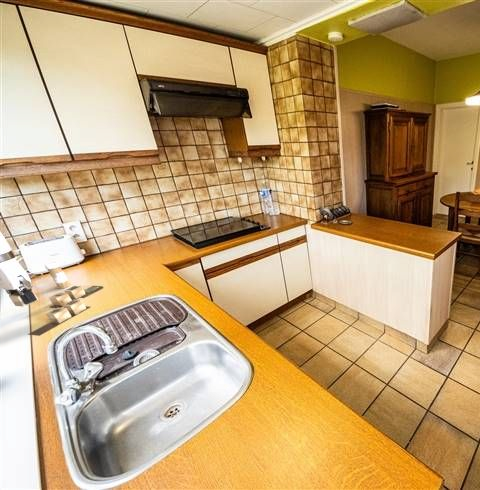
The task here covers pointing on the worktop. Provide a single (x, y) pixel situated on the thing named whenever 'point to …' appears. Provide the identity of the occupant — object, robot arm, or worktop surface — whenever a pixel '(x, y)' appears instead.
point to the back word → (72, 295)
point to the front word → (61, 315)
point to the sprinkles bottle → (58, 275)
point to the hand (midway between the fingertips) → (26, 301)
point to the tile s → (19, 299)
